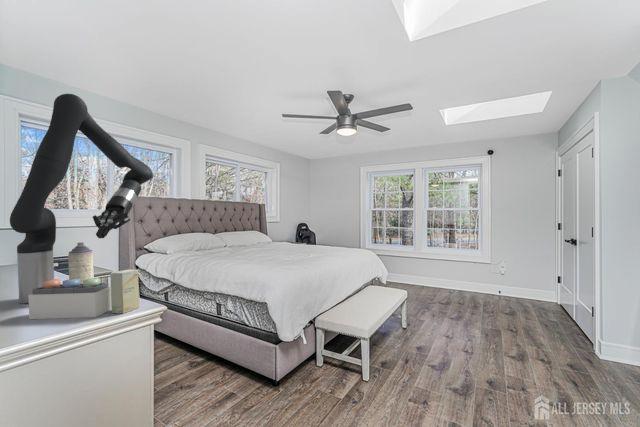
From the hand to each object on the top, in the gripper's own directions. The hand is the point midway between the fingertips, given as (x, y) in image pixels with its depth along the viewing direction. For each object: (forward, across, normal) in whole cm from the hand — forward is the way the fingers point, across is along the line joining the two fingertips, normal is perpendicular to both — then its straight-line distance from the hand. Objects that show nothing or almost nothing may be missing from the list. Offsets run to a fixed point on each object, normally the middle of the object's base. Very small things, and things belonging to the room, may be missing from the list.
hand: (99, 236), depth 100 cm
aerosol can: (+12, -11, +19) cm, 25 cm away
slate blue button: (+18, 0, +1) cm, 18 cm away
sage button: (+18, +6, +1) cm, 19 cm away
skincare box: (+23, +14, +9) cm, 29 cm away
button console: (+24, 0, +7) cm, 25 cm away
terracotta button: (+18, -6, +1) cm, 19 cm away
